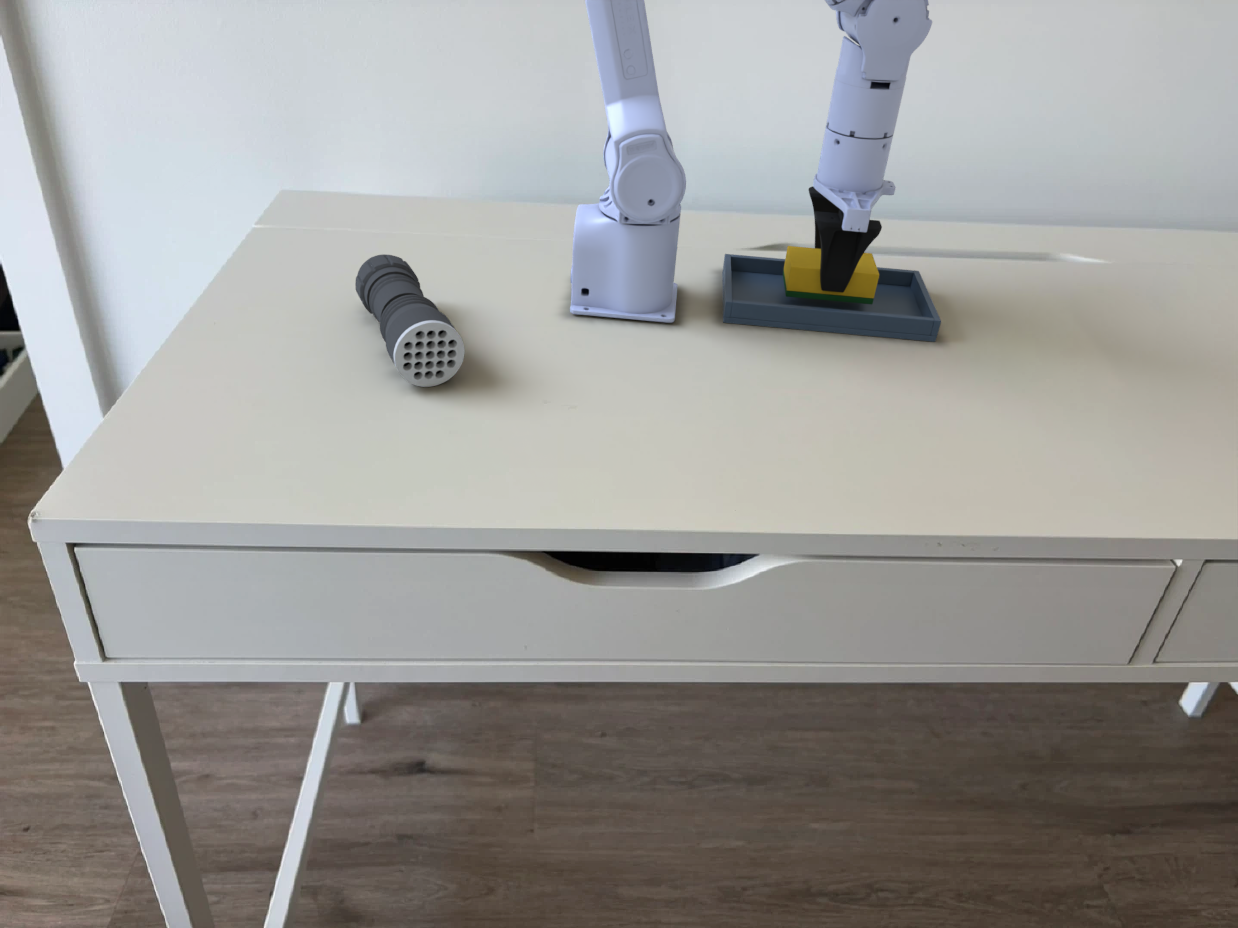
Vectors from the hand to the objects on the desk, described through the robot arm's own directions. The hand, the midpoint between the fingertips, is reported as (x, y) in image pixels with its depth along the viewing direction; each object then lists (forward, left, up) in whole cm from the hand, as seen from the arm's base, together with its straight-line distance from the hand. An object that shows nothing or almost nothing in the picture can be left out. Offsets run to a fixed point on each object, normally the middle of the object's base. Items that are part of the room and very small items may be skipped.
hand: (829, 277), depth 87 cm
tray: (0, 0, -3) cm, 3 cm away
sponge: (0, 0, -1) cm, 1 cm away
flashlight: (-36, -15, -3) cm, 39 cm away
